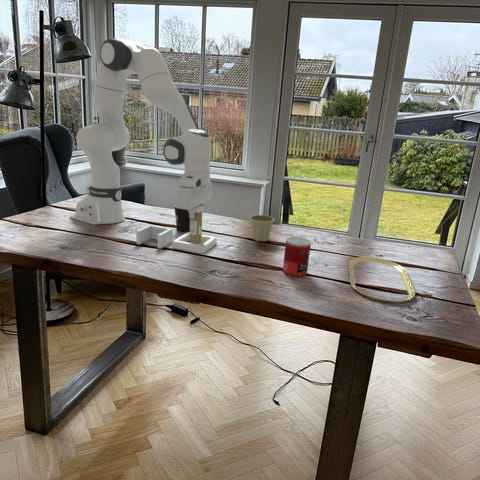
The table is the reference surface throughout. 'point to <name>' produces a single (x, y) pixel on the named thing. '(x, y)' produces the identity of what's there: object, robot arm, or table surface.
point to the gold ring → (392, 264)
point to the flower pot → (261, 227)
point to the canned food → (296, 256)
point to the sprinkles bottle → (196, 225)
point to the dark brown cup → (182, 219)
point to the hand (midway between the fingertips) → (195, 216)
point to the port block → (202, 248)
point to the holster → (155, 235)
